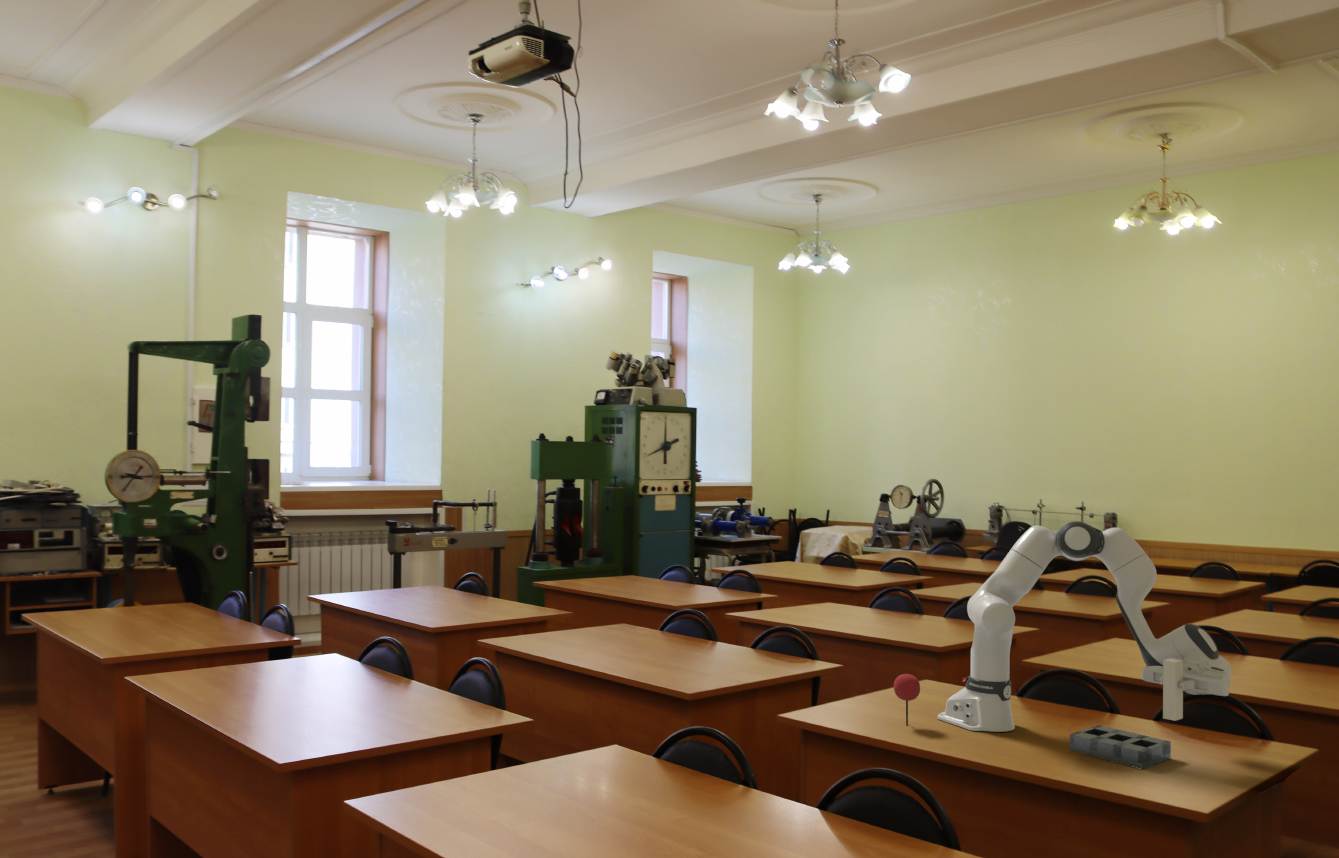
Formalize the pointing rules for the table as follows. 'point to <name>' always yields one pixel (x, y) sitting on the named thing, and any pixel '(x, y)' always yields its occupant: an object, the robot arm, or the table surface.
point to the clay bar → (1172, 689)
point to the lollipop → (906, 689)
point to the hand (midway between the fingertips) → (1171, 683)
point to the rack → (1120, 746)
